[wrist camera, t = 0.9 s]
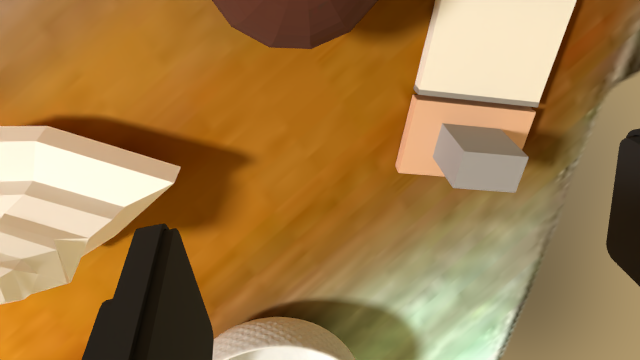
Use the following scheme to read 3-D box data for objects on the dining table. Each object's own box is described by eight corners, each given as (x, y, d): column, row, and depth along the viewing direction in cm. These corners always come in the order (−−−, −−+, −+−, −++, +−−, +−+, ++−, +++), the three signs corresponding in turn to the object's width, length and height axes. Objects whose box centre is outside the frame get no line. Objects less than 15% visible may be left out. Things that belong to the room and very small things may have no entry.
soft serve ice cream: (155, 244, 48) (94, 395, 37) (-20, 187, 44) (-142, 336, 34) (189, 145, 40) (125, 301, 29) (-20, 68, 37) (-179, 212, 26)
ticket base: (452, -101, 35) (469, -99, 33) (600, -75, 37) (626, -72, 34) (407, 88, 41) (418, 102, 39) (535, 102, 43) (554, 116, 41)
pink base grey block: (412, 94, 42) (436, 126, 36) (529, 106, 43) (568, 139, 38) (395, 166, 45) (415, 205, 39) (504, 174, 46) (537, 213, 41)
